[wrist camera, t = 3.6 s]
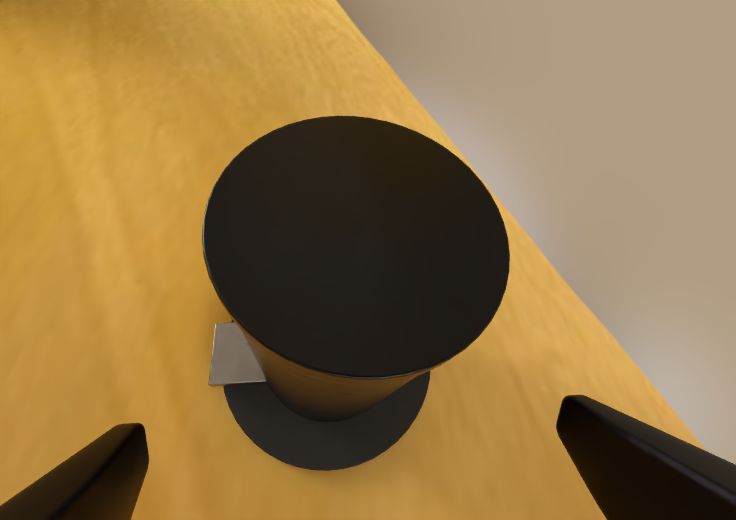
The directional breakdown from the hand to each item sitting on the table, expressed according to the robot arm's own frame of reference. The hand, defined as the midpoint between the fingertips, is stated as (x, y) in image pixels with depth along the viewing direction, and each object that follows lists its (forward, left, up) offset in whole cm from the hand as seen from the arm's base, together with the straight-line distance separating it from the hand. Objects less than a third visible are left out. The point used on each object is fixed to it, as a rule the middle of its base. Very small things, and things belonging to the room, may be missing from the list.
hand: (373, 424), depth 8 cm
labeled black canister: (+1, +4, -11) cm, 12 cm away
